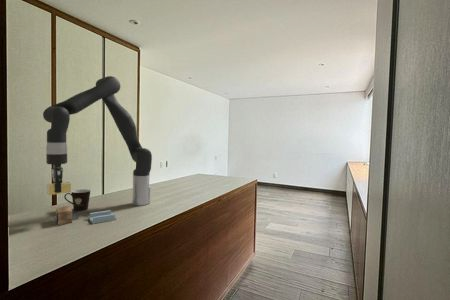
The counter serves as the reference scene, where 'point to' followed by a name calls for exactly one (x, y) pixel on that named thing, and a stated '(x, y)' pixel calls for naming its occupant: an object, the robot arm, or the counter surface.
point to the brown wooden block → (64, 215)
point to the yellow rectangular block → (64, 188)
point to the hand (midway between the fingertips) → (57, 191)
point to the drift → (74, 217)
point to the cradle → (101, 217)
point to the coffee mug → (80, 199)
